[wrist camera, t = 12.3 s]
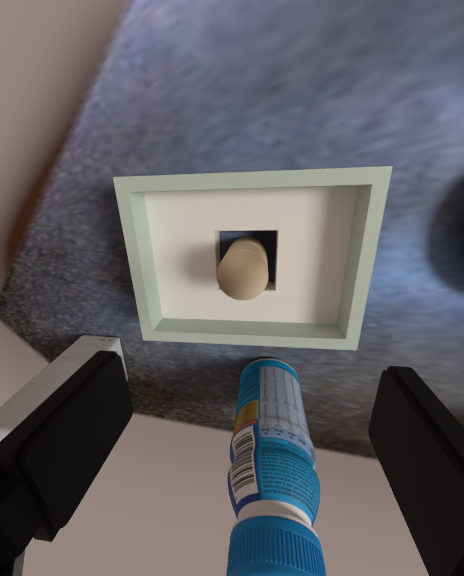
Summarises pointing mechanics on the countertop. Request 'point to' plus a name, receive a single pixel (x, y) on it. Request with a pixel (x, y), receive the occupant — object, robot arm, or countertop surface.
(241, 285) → the peg
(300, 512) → the beverage bottle
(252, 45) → the countertop surface
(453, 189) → the countertop surface
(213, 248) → the tray
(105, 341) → the skincare box
